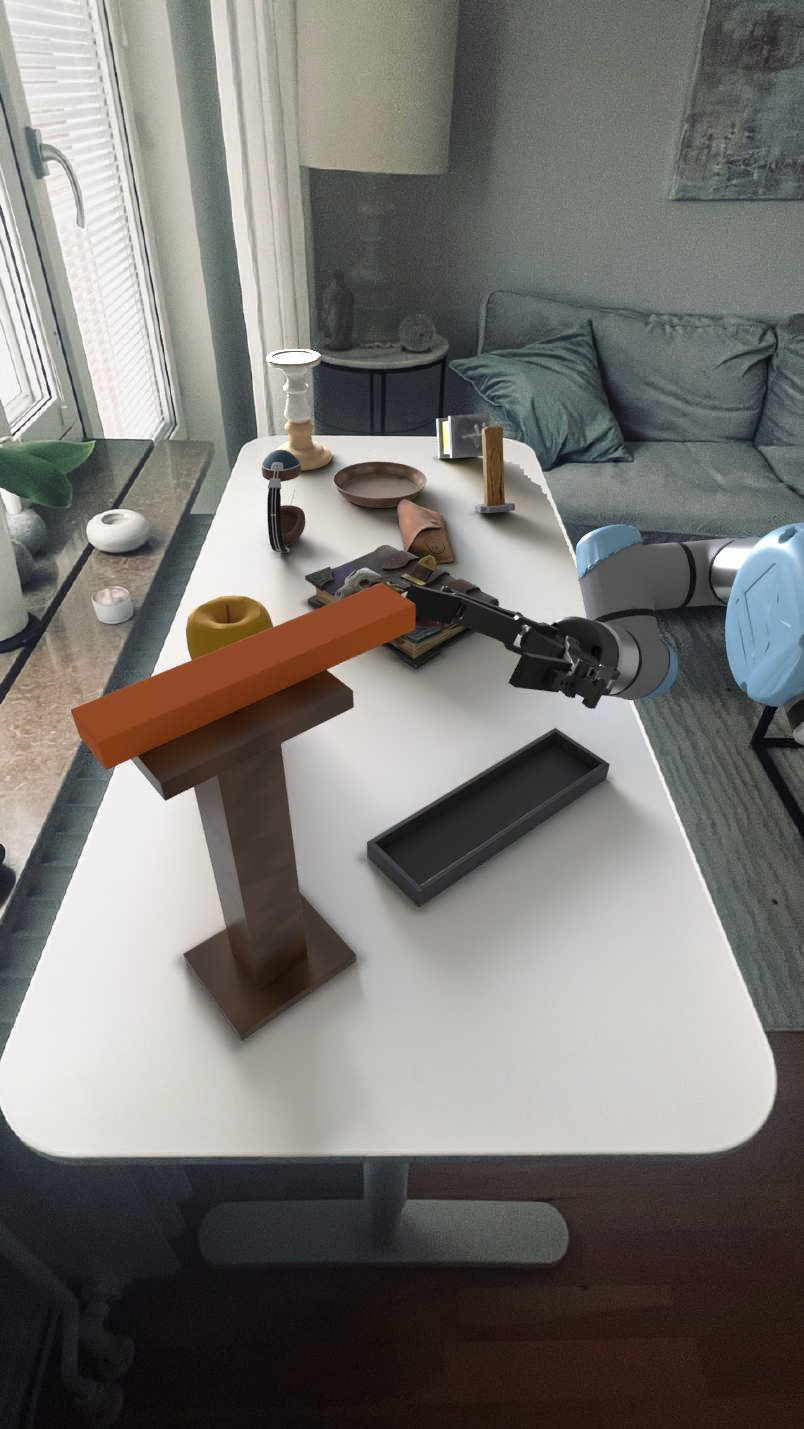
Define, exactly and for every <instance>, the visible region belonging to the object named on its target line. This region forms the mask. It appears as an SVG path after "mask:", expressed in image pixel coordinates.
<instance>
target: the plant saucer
mask: <svg viewBox="0 0 804 1429" xmlns="http://www.w3.org/2000/svg"><path fill="white" fill-rule="evenodd" d="M427 482H428V479H427V477H426V475H425V474H424V472H422V471H421V470H420V469H418V468H416V467H414V466H411V465H408V464H405V463H400V462H393V461H379V460H378V461H377V460H376V461H366V462H359V463H354V464H350V465H347V466H345V467H343V468H340V469H339V470H337V471H336V472H335V473H334V475H333V476H332V484H333V485H334V487H335V489H336V490H337V491H338V492H339V493H340V495H341V496H342V497H343V498H345V500H347V501H349V502H350V503H352V504H354V505H358V506H362V507H366V508H374V509H376V508H377V509H381V508H382V509H384V508H385V509H386V508H394V507H398V505H399V503H400V502H401V501H402V500H405V499H406V500H408V501H411V502H412V501H413V500H414V499H416V498H417V497H418V495H420V493H421V492H422V491H423V490H424V488H425V487H426V485H427Z"/></svg>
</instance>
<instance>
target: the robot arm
mask: <svg viewBox="0 0 804 1429" xmlns="http://www.w3.org/2000/svg"><path fill="white" fill-rule="evenodd" d="M575 555H576V556H575V557H576V561H575V562H576V569H577V580H578V583H579V588H580V592H581V597H582V602H583V608H584V612H585V613H584V614H585V617H581V616H575V615H571V616H565V617H562V618H559V619H557V620H556V621H554V622H553V623H551V624H549V623H547V622H544V621H542V622H537V621H535V620H533V619H531V618H528V617H526V616H524V614H522V613H521V612H519V611H513V610H510V609H507V608H503V607H500V606H499V607H498V606H496V605H493V604H490V603H488V602H485V601H482V600H480V599H477V598H474V597H472V596H469V595H466V594H464V593H461V592H458V591H455V590H453V589H451V588H450V587H448V586H442V589H441V591H438V590H434V589H430V588H426V587H422V586H418V585H414V584H411V585H410V587H409V590H408V592H407V594H406V597H405V598H407V599H408V600H410V601H411V602H413V603H415V604H416V618H421V619H426V620H431V621H436V622H438V624H439V625H441V626H443V627H444V625H445V623H446V624H451V622H454V623H456V624H459V625H461V626H464V627H466V628H469V629H471V630H474V631H473V632H476V633H479V634H480V635H483V636H486V637H489V638H491V639H493V640H497V641H498V642H501V643H502V645H503V647H504V648H505V649H506V651H509V652H512V653H514V654H517V655H519V656H520V658H519V660H518V662H517V663H516V666H515V668H514V670H513V672H512V674H511V676H510V678H509V680H508V682H507V683H508V684H509V685H511V686H512V687H513V688H516V689H517V688H518V689H523V690H524V689H525V690H533V691H541V692H550V693H557V694H558V693H559V692H561V693H562V694H564V696H565V697H567V698H571V699H575V698H576V696H578V697H581V698H583V699H582V700H581V704H582V705H583V706H584V707H585V708H587V709H590V710H595V709H596V708H597V706H598V705H599V702H600V700H601V699H602V696H603V697H613V698H619V699H622V700H628V701H636V700H653V699H656V698H657V697H660V696H662V695H664V693H666V692H667V691H668V690H669V689H671V687H672V686H673V684H674V682H675V681H676V678H677V675H678V671H679V660H678V656H677V654H676V652H675V650H674V649H673V647H672V646H671V645H670V644H669V643H668V642H667V641H665V640H664V638H662V637H661V636H660V631H659V626H658V621H657V614H656V611H658V610H660V611H661V610H669V609H681V608H691V607H704V606H705V607H706V606H720V607H721V606H722V607H727V608H726V614H725V615H726V616H725V626H724V627H725V628H724V631H725V632H724V634H725V647H726V655H727V660H728V664H729V668H730V670H731V671H730V672H731V674H732V676H733V678H734V681H735V682H736V684H737V686H738V688H740V689H741V691H742V692H744V693H747V697H748V698H750V699H751V700H753V701H754V702H757V703H760V704H764V705H766V706H768V707H772V708H773V707H777V708H778V707H782V706H783V709H784V712H785V715H786V719H787V721H788V724H789V727H790V730H791V733H792V736H793V739H794V741H795V742H796V743H798V744H800V745H802V746H804V522H797V523H796V522H795V523H791V524H790V523H789V524H787V525H783V526H779V527H777V528H775V529H773V530H772V531H770V532H769V533H767V534H766V535H764V536H763V537H759V536H745V535H744V536H730V537H725V538H714V539H702V540H695V541H693V540H692V541H683V542H679V541H678V542H675V541H674V542H664V543H663V542H662V543H651V544H650V543H649V544H644V539H643V538H642V535H641V532H640V531H639V528H637V527H635V526H634V525H626V524H624V523H620V524H611V525H606V526H602V527H599V528H596V529H594V530H592V531H590V532H588V533H587V534H585V535H584V536H583V537H582V538H581V539H580V540H579V541H578V543H577V545H576V547H575ZM518 636H520V640H519V646H518V645H515V643H516V640H517V638H518Z"/></svg>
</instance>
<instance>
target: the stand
mask: <svg viewBox="0 0 804 1429" xmlns="http://www.w3.org/2000/svg"><path fill="white" fill-rule="evenodd" d="M354 700H355V699H354V690H353V689H352V688H351V687H349V686H348V685H347V684H345V683H344V682H343V681H342V680H340V679H339V678H338V677H336V676H335V675H334V674H333V673H331V671H329V669H327V670H325V671H323V672H321V673H318V674H316V675H314V676H312V677H310V678H307V679H305V680H303V681H301V682H299V683H296V684H294V685H292V686H290V687H288V688H285V689H283V690H281V691H279V692H277V693H275V694H272V695H270V696H268V697H266V698H264V699H261V700H259V701H257V702H255V703H253V704H250V705H248V706H246V707H244V708H242V709H239V710H237V711H235V712H233V713H231V714H228V715H226V716H224V717H222V718H220V719H218V720H215V721H213V722H211V723H209V724H207V725H204V726H202V727H200V728H198V729H196V730H193V731H191V732H189V733H187V734H185V735H182V736H180V737H178V738H176V739H174V740H172V741H169V742H167V743H165V744H163V745H161V746H158V747H156V748H154V749H152V750H150V751H147V752H145V753H143V754H141V755H139V756H136V757H134V758H132V759H130V760H131V761H132V763H133V764H134V765H135V767H136V768H137V770H139V772H140V773H141V774H142V775H143V777H144V778H145V779H146V780H147V781H148V782H149V783H150V785H151V786H152V788H154V789H155V791H156V792H157V793H158V794H159V796H160V797H161V798H162V799H163V800H164V801H165V802H166V801H168V800H170V799H172V798H174V797H177V796H178V795H181V794H182V793H184V792H187V791H189V790H191V789H193V791H194V795H195V800H196V803H197V807H198V811H199V816H200V820H201V825H202V829H203V833H204V838H205V843H206V846H207V851H208V856H209V859H210V864H211V869H212V873H213V878H214V882H215V886H216V891H217V895H218V899H219V904H220V908H221V911H222V912H221V913H222V916H223V920H224V925H225V928H224V929H221V930H220V931H219V932H217V933H215V934H213V935H212V936H210V937H209V938H207V939H205V940H204V941H202V942H200V943H199V944H197V945H196V946H193V947H192V948H190V949H189V950H187V951H186V952H183V958H184V962H185V963H186V964H187V966H188V967H189V968H190V970H191V971H192V973H193V974H194V976H195V977H196V978H197V980H198V981H199V983H200V984H201V985H202V987H203V988H204V990H205V991H206V993H207V994H208V995H209V997H210V999H211V1000H212V1001H213V1002H214V1004H215V1005H216V1007H217V1008H218V1010H219V1011H220V1012H221V1014H222V1015H223V1017H224V1018H225V1020H226V1021H227V1023H228V1024H229V1026H230V1027H231V1028H232V1030H233V1032H234V1033H235V1034H236V1035H237V1037H238V1038H239V1040H240V1041H243V1040H246V1039H247V1038H248V1037H249V1036H250V1035H252V1034H253V1033H256V1031H258V1030H259V1029H261V1028H262V1027H264V1026H265V1025H266V1024H268V1023H269V1022H271V1021H272V1020H274V1019H275V1018H276V1017H278V1016H279V1015H281V1014H282V1013H284V1012H285V1011H287V1010H288V1009H289V1008H291V1007H293V1006H294V1005H295V1004H296V1003H298V1002H299V1001H301V1000H302V999H304V998H306V997H307V996H308V995H309V994H311V993H313V992H314V991H315V990H317V989H319V988H320V987H322V986H323V985H325V983H327V982H329V981H330V980H331V979H333V978H334V977H336V976H337V975H339V974H340V973H342V972H343V971H344V970H346V969H347V968H348V967H350V966H352V965H353V964H354V963H356V962H357V954H356V953H355V952H354V951H353V949H352V948H351V947H349V945H348V944H347V943H346V942H345V940H343V939H342V937H341V936H340V935H339V934H338V933H337V932H336V931H335V930H334V928H333V927H332V926H331V925H330V924H329V923H328V922H327V920H326V919H325V918H324V917H323V916H322V915H321V914H320V913H319V911H317V909H316V908H315V907H314V906H313V905H312V904H311V903H310V902H309V901H308V899H307V898H306V897H305V896H304V895H303V894H302V892H301V891H300V883H299V875H298V867H297V860H296V850H295V842H294V837H293V836H294V835H293V828H292V827H293V826H292V820H291V810H290V804H289V796H288V788H287V787H288V786H287V780H286V779H287V778H286V772H285V763H284V757H283V756H284V755H283V748H282V744H283V743H285V742H287V741H289V740H291V739H293V738H295V737H298V736H299V735H302V734H303V733H306V732H308V731H310V730H311V729H313V728H316V727H317V726H319V725H321V724H323V723H325V722H328V721H330V720H331V719H333V718H335V717H338V716H340V715H342V714H344V713H346V712H348V711H350V710H352V709H354V708H355V704H354Z"/></svg>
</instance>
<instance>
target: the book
mask: <svg viewBox="0 0 804 1429" xmlns="http://www.w3.org/2000/svg"><path fill="white" fill-rule="evenodd" d="M304 579H305V581H306V582H308V583H309V584H311V585H312V586H314V588H315V591H316V592H315V594H314V595H312V596H310V597H309V598H306V602H307V604H309V605H311V606H313V607H315V608H317V609H319V608H321V607H324V606H326V605H329V604H331V603H334V602H336V601H338V600H341V599H343V598H346V597H348V596H351V595H353V594H356V593H358V592H361V591H363V590H366V589H368V588H370V587H373V586H375V585H378V584H380V583H383V584H384V585H386V586H388V587H389V588H391V589H392V590H394V591H395V592H397V593H399V594H400V595H402V596H403V597H406V594H407V592H408V590H409V587H410V585H411V584H414V585H418V586H422V587H426V588H430V589H434V590H438V591H441V589H442V586H448V587H450V588H451V589H453V590H455V591H458V592H461V593H464V594H466V595H469V596H472V597H474V598H477V599H480V600H482V601H485V602H488V603H490V604H493V605H496V606H498V607H500V601H499V599H498V598H497V597H494V596H493V595H490V594H489V593H486V592H484V591H482V589H481V588H480V587H479V586H478V585H476V584H474V583H472V582H470V581H467V580H466V579H463V578H455V577H454V576H452V575H451V573H450V571H447V570H445V569H444V568H441V567H439V566H438V564H437V563H436V560H435V557H433V556H430V555H429V556H426V557H424V558H422V559H421V558H419V557H417V556H415V555H413V554H411V553H409V552H407V551H404V549H402V550H399V549H397V548H395V547H393V546H391V545H390V544H382V545H380V546H378V547H376V549H375V550H373V551H372V552H368V553H366V554H364V555H362V556H359V557H357V558H355V559H353V560H351V561H348V562H345V563H344V564H341V565H339V566H336V567H333V568H332V567H331V566H327V567H324V568H322V569H318V570H316V571H314V572H312V573H308V574H306V575H304ZM472 632H475V631H474V630H471V629H469V628H466V627H464V626H461V625H459V624H456V623H454V622H451V624H446V623H445V625H444V627H443V626H441V625H439V624H438V622H436V621H431V620H426V619H421V618H416V617H415V630H413V631H410V632H408V633H406V634H404V635H402V636H399V637H397V638H395V639H393V640H391V641H388V642H386V643H384V644H383V645H384V646H386V647H387V648H388V649H390V650H391V651H393V652H394V653H396V654H397V657H399V658H400V659H401V660H402V661H404V662H405V663H407V664H408V665H409V666H411V667H413V668H414V669H415V670H418V669H419V668H421V667H422V666H424V665H426V664H427V663H429V662H430V661H432V660H433V659H435V658H436V657H438V656H440V655H441V654H442V652H443V650H444V649H446V647H448V646H449V645H451V644H453V643H455V642H456V641H458V640H460V639H462V638H464V637H465V636H467V635H469V634H471V633H472Z"/></svg>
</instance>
